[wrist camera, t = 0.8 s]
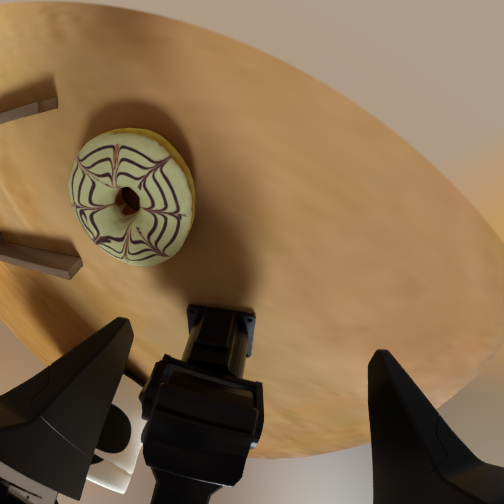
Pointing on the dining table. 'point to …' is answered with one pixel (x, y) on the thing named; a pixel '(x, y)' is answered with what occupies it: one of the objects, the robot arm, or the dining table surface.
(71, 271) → the u-shaped brown rail
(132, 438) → the milk container
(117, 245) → the decorated donut
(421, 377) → the dining table surface
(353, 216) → the dining table surface
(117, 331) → the robot arm
